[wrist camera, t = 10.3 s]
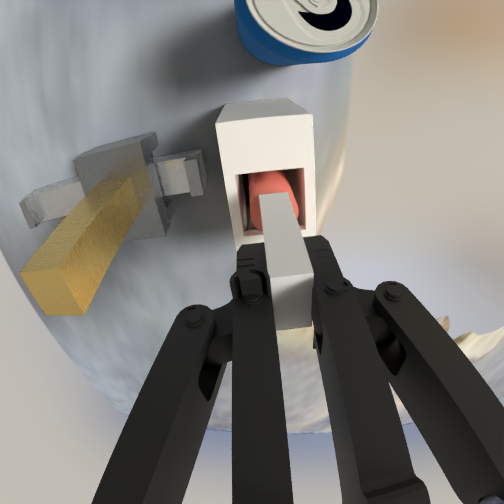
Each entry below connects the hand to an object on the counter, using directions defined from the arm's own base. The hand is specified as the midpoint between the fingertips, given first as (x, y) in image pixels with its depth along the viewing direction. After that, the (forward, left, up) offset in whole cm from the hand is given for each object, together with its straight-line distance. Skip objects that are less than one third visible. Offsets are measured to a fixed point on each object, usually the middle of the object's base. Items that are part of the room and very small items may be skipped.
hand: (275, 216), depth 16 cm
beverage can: (-11, +2, -11) cm, 16 cm away
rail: (0, -15, -11) cm, 18 cm away
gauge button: (0, 0, -8) cm, 8 cm away
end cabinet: (0, 0, -11) cm, 11 cm away
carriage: (0, -12, -11) cm, 16 cm away
